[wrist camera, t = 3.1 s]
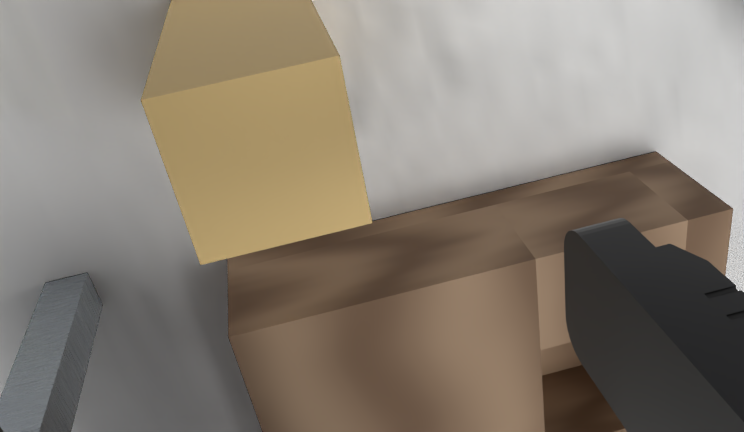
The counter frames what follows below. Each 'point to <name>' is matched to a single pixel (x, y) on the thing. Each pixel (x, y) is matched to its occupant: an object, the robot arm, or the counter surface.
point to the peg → (254, 125)
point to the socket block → (449, 308)
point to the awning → (52, 359)
